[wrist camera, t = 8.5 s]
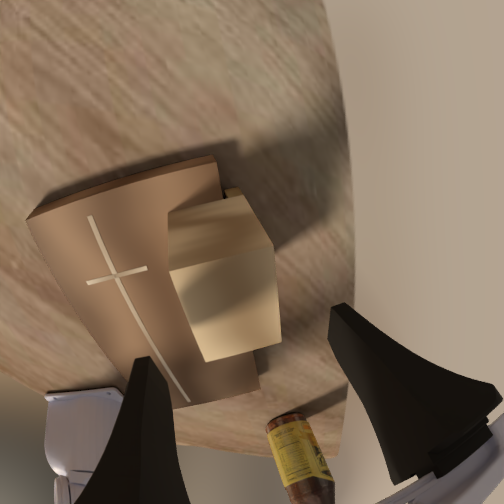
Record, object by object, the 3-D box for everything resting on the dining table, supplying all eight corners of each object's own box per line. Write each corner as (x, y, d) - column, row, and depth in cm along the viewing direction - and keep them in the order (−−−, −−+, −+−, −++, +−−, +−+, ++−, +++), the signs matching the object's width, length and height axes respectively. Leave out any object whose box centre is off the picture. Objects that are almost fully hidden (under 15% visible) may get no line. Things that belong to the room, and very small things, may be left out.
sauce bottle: (302, 421, 39) (347, 528, 23) (263, 433, 38) (304, 544, 22) (307, 405, 35) (361, 527, 20) (262, 417, 34) (310, 547, 18)
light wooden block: (192, 285, 19) (205, 362, 14) (167, 203, 15) (168, 271, 10) (251, 270, 19) (281, 341, 15) (238, 186, 16) (273, 245, 11)
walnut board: (153, 399, 26) (154, 412, 25) (34, 208, 13) (25, 220, 12) (256, 377, 28) (260, 389, 26) (212, 154, 15) (216, 162, 14)
